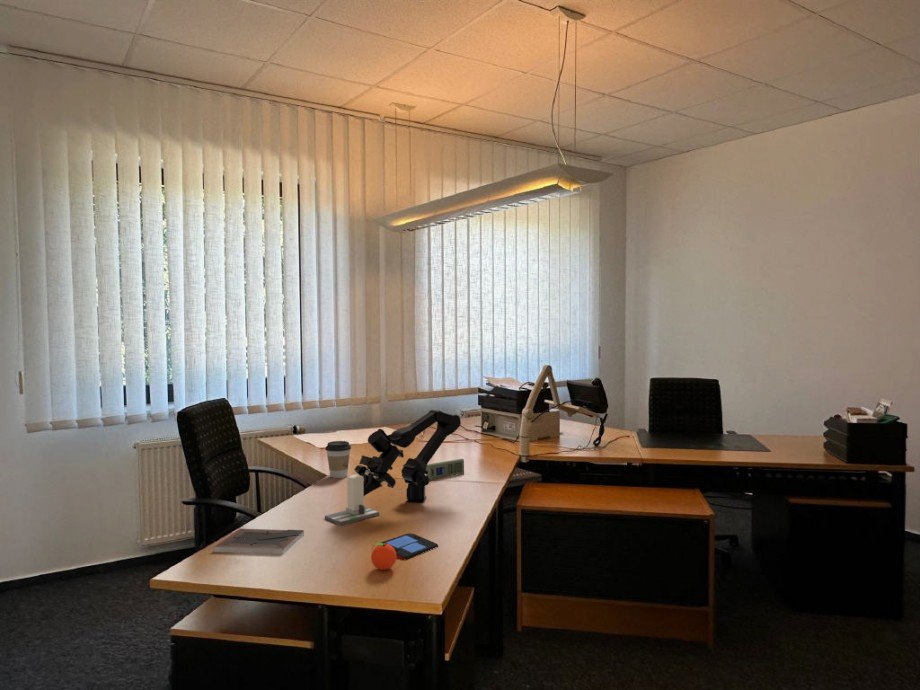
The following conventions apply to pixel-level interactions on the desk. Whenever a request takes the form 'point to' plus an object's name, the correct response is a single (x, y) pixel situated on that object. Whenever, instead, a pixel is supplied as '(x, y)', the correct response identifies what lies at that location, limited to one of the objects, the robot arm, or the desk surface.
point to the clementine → (383, 556)
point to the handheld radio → (445, 469)
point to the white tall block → (355, 495)
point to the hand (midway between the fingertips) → (361, 495)
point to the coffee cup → (338, 458)
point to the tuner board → (350, 516)
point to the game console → (410, 545)
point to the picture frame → (259, 541)
